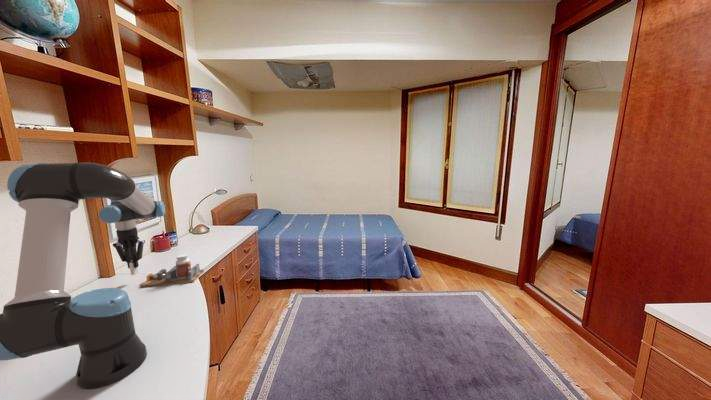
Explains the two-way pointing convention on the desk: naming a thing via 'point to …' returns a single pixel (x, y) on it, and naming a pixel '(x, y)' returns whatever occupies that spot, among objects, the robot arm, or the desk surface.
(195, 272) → the mount
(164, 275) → the pin
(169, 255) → the desk surface
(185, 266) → the pill bottle
